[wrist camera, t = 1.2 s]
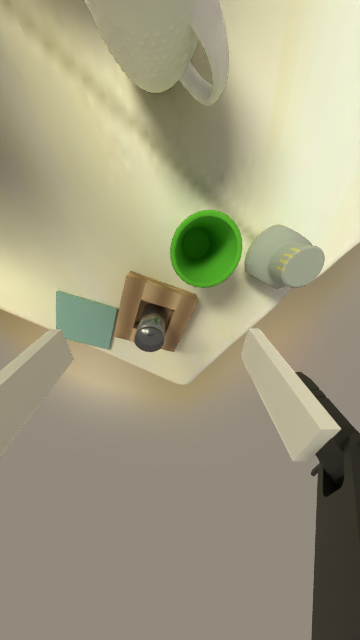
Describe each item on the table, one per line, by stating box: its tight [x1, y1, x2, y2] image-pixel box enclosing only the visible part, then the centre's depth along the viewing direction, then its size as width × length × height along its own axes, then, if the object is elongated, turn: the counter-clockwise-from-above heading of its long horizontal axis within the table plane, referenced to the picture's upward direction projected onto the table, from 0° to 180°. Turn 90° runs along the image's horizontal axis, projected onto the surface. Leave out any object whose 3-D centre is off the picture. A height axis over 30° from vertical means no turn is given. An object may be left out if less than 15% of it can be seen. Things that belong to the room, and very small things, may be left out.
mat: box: [56, 291, 118, 349], centre depth 37 cm, size 12×12×1 cm
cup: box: [170, 210, 242, 288], centre depth 25 cm, size 9×9×11 cm
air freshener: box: [245, 225, 325, 289], centre depth 27 cm, size 11×8×10 cm
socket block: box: [114, 272, 198, 352], centre depth 35 cm, size 14×14×4 cm
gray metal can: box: [134, 303, 166, 352], centre depth 32 cm, size 5×5×10 cm
